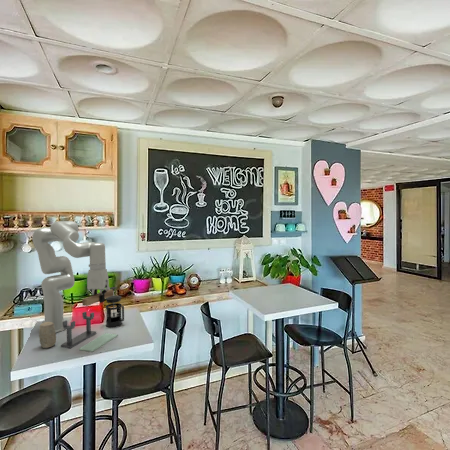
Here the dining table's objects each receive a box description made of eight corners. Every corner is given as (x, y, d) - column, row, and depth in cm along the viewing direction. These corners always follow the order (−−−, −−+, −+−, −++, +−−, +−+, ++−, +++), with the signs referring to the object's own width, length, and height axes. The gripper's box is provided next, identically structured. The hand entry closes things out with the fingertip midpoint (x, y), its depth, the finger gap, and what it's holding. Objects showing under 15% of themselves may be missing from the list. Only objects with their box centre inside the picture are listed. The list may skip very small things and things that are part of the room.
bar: (82, 305, 144) (82, 299, 144) (108, 294, 163) (108, 289, 163) (87, 305, 143) (87, 299, 143) (113, 295, 162) (113, 289, 162)
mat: (79, 350, 146) (79, 348, 145) (105, 334, 165) (105, 333, 165) (92, 351, 143) (92, 350, 143) (117, 335, 163) (117, 334, 163)
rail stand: (60, 347, 149) (60, 322, 149) (87, 332, 167) (86, 310, 167) (70, 348, 147) (69, 323, 147) (96, 333, 166) (95, 311, 165)
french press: (101, 327, 175) (100, 288, 175) (110, 321, 185) (110, 285, 184) (119, 328, 173) (118, 289, 172) (127, 322, 182) (127, 286, 181)
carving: (42, 344, 152) (41, 321, 152) (58, 343, 154) (57, 320, 153) (37, 350, 146) (36, 326, 145) (54, 348, 148) (53, 324, 147)
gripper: (79, 267, 151) (80, 303, 152) (106, 268, 147) (107, 305, 148) (89, 265, 158) (90, 299, 159) (116, 266, 154) (117, 300, 155)
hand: (98, 301), depth 153 cm, fingers closed on bar, 3 cm apart
